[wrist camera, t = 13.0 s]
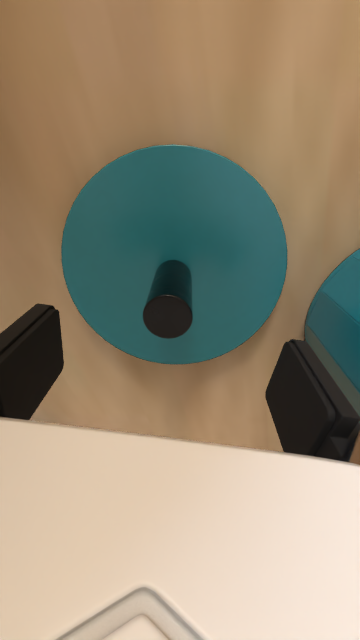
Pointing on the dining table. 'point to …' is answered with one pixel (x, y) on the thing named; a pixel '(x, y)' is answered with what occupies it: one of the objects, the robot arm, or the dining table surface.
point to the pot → (338, 327)
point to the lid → (174, 254)
